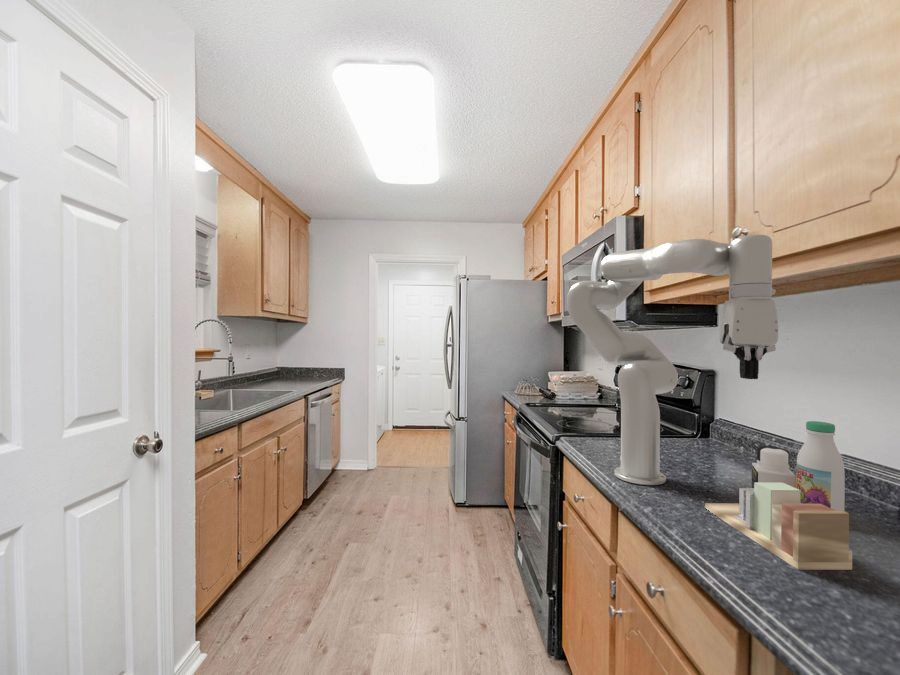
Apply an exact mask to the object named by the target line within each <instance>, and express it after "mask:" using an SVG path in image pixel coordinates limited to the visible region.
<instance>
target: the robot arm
mask: <svg viewBox="0 0 900 675" xmlns="http://www.w3.org/2000/svg"><path fill="white" fill-rule="evenodd" d="M599 269H600V273H601V275H602V277H604V278H605V279H606V280H608V281H607V282H603V281H595V280H581V281H577V282H576V283H574V284H572V286H571V287H570V288H569V290H568V293H567V294H566V295H567V296H566V307H567V308H566V309H567V311H568V315H569V317H570V318H571V320H572V321H573V323H574V325H576V326H577V328H579V330H580V331H581V332H582V333H583V334H584V335H585V336H586V338H587V339H588V341H589V342H590V343H591V345H592V346H593V347H594V348H595V350H596V351H597V352H598V353H599V355H600V356H601V357H602V358H603V359H604V360H605V361H606V362H607V364H610V365H613V366H621V368H620V369H619V371H618V374H617V385H618V391H619V398H620V456H619V459H620V466H618V467H615V469H614V476H615V477H616V478H618V479H620V480H622V481H624V482H627V483H632V484H635V485H642V486H643V485H645V486H658V485H659V486H660V485H662V484H665V483H666V481H667V476H666V475H665V474H664V473H663V472H661V471H660V465H661V464H660V461H661V460H660V455H661V454H660V451H661V450H660V447H661V442H660V441H661V412H660V411H661V410H660V407H659V403H658V402H659V401H658V399H657V396H656V395H661V394H667V393H670V392H671V391H673V390H674V389H675V388H676V387H677V385H678V383H679V373H678V371H677V368H676V367H675V365H674V364H673V363H672V361H670V359H669V358H668V357H667V356H666V355H665V354H664V353H663V352H662V351H661V350H660V349H659V347H657V345H656V344H655V343H654V342H652V339H651V340H650V339H649V338H648V337H647V336H645V335H643V334H641V333H638V332H627V331H623V330H621V329H620V328H619V327H618V326H617V325H616V324H615V322H613V320H612V319H611V318H610V317H609V316H608V315H606V314H605V313H604V312H602V310H603V311H610V310H611V311H612V310H614V309H615V308H617V307H618V306H620V305H621V304H622V303H623V302H624V301H626V299H627V298H628V297H629V296H630V295H631V294H633V292H634V291H635V290H636V289H638V287H639V286H640V285H641V284H642V283H643V282H644V281H657V280H660V279H661V278H662V277H663V275H669V274H670V275H671V274H683V273H685V274H686V273H694V274H696V273H697V274H702V275H708V276H713V277H715V276H716V277H719V276H726V275H728V283H729V284H728V300H724V304H723V308H722V311H721V317H720V326H719V342H720V344H721V345H723V347H722V349H723V351H726V352H729V353H733V354H734V355H735V357H736V359H737V360H739V378H741V379H745V380H758V378H759V370H760V369H759V368H760V367H759V361H762V359H763V357H764V355H766V353H767V354H768V353H770V352H772V353H773V352H775V351H776V349H777V348H776V345H777V343H778V341H779V320H778V318H779V317H778V313H777V307H776V302H775V299H773V298H772V296H775V294H776V292H777V290H776V289H775V288H773V239H772V238H771V237H770V236H769V235H767V234H766V235H765V234H749V235H742V236H739V237H736V238H734V239H733V240H732V241H730V243H725V242H720V241H715V240H711V239H706V238H692V239H683V240H677V241H668V242H664V243H662V244H658V245H656V246H653V247H646V248H640V249H633V250H631V249H629V250H623V251H622V250H621V251H615V252H611V253H609V254H607V255H606V256H604V258H603V259H602V260H601V262H600V266H599Z"/></svg>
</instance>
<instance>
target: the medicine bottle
mask: <svg viewBox="0 0 900 675" xmlns="http://www.w3.org/2000/svg"><path fill="white" fill-rule="evenodd" d="M756 448H757V447H756ZM754 482H761V483H785V484H787V485H789V486H792V487H794V488H796V474H794V472H792V470H791V469H790V452H789V451H788V450H787V449H785V448H782V447H778V446H773V445H762V446H758V448H757V449H756V462H752V463H751V488H754Z"/></svg>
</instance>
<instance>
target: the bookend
mask: <svg viewBox="0 0 900 675" xmlns="http://www.w3.org/2000/svg"><path fill="white" fill-rule="evenodd" d="M738 497H739V498H738V500H739V501H738V503H739V515H734V518H736V519H737V520H739V521H741V522H742V523H744V524H745V525H746V527H747V528H749V529H754V488H752V487H739V493H738Z"/></svg>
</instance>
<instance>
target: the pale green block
mask: <svg viewBox="0 0 900 675" xmlns="http://www.w3.org/2000/svg"><path fill="white" fill-rule="evenodd" d="M782 504H801V490H799V489H796V488H794V487H792V486H789V485H787V484H785V483H761V482H754V530H755V531H757V532H759V533H760V534H762V535H763V536H765V537H767V538H768V539H770V540H772V505H782Z"/></svg>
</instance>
